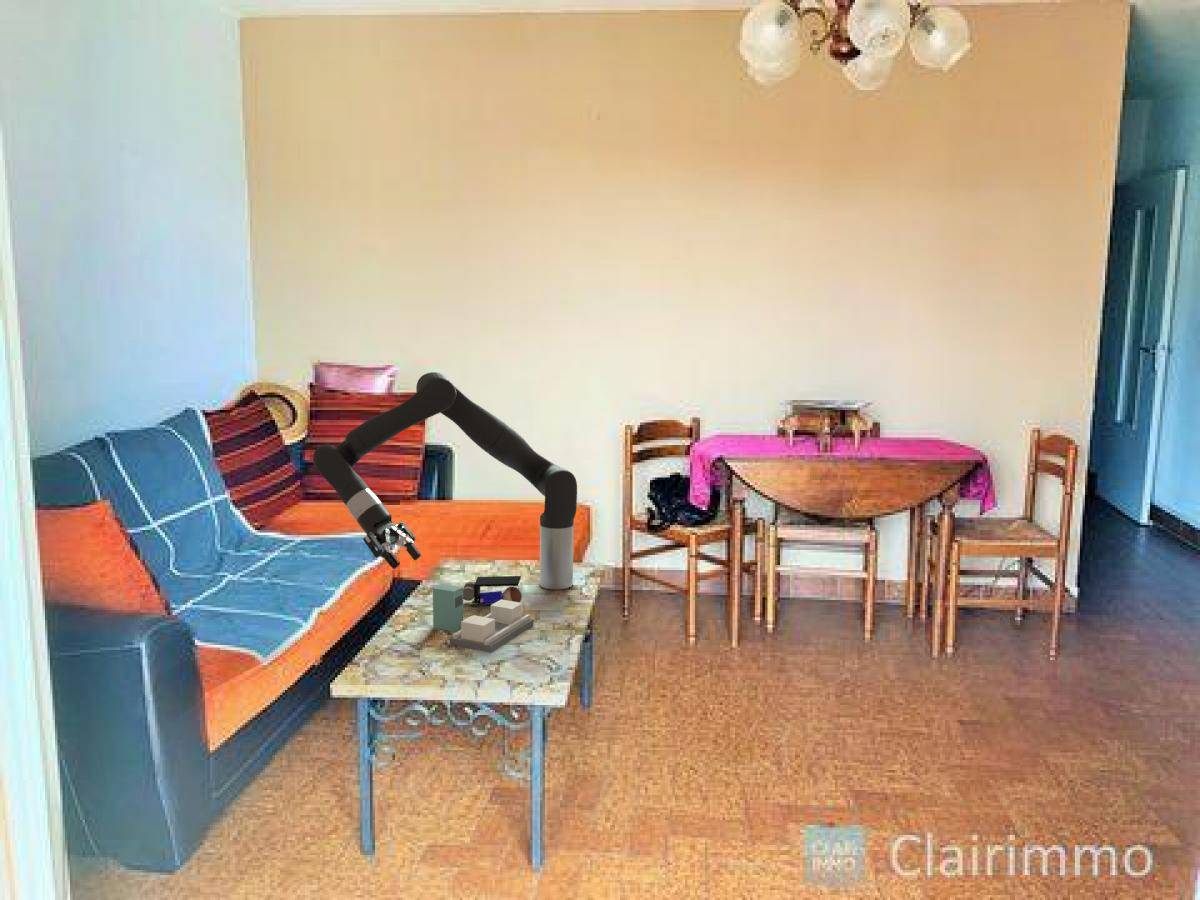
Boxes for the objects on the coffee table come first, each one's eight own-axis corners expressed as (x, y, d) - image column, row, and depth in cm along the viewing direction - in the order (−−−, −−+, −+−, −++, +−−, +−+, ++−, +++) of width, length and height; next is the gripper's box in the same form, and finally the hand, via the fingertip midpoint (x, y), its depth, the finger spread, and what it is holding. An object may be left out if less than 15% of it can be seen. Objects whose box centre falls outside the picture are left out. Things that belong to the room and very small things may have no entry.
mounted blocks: (501, 614, 235) (501, 599, 234) (522, 618, 232) (522, 603, 232) (461, 638, 219) (461, 621, 218) (483, 642, 216) (483, 625, 215)
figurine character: (462, 614, 244) (521, 609, 243) (458, 585, 243) (517, 580, 242) (466, 605, 250) (523, 600, 250) (463, 577, 249) (520, 572, 249)
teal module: (442, 622, 233) (442, 583, 231) (464, 626, 230) (463, 587, 229) (433, 627, 229) (432, 588, 228) (454, 632, 227) (454, 591, 225)
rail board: (494, 618, 237) (494, 608, 236) (533, 625, 232) (533, 615, 232) (449, 644, 219) (449, 633, 219) (490, 652, 214) (490, 641, 214)
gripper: (358, 507, 227) (399, 560, 224) (395, 496, 240) (433, 546, 237) (341, 526, 230) (381, 579, 227) (378, 514, 243) (416, 564, 240)
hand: (407, 562), depth 232 cm, fingers open, 8 cm apart
